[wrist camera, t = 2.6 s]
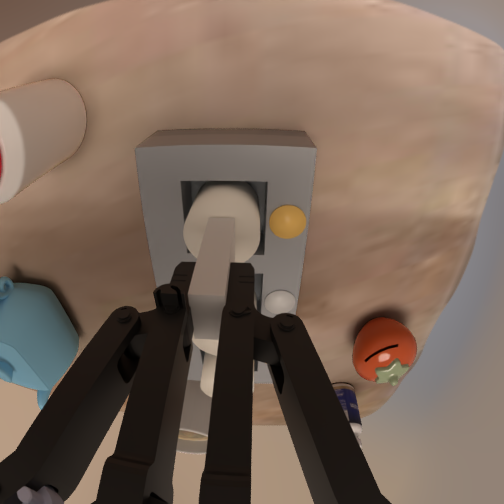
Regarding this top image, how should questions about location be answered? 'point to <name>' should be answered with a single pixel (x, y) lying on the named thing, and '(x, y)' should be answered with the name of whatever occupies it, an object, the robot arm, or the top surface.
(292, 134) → the console
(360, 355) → the tomato
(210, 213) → the button
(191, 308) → the robot arm
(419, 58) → the top surface
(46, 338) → the teapot
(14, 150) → the pill bottle
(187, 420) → the mug
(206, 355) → the button
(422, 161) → the top surface
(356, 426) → the pill bottle
